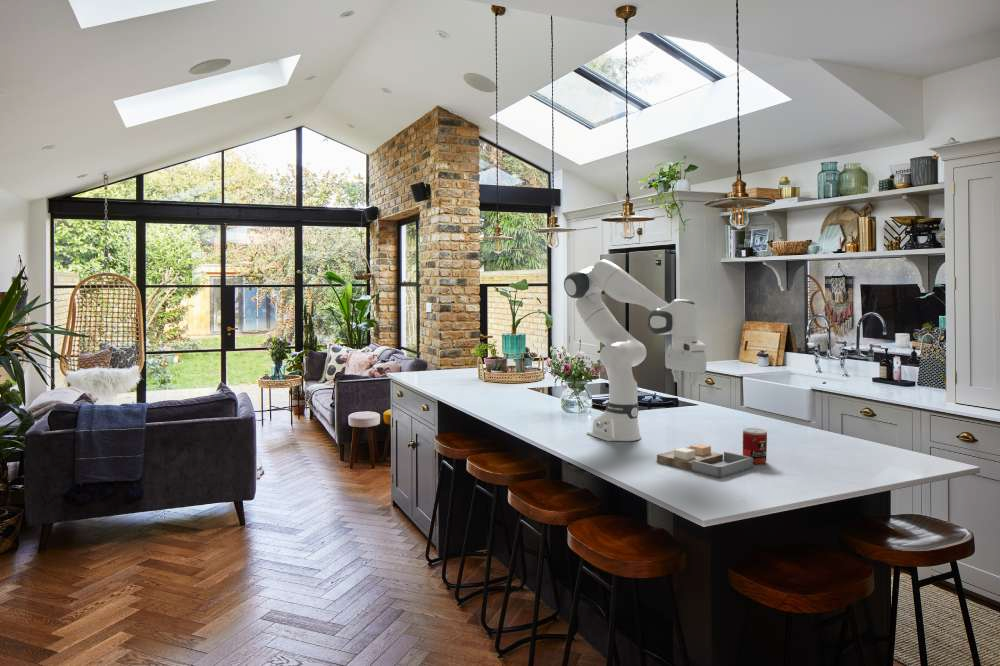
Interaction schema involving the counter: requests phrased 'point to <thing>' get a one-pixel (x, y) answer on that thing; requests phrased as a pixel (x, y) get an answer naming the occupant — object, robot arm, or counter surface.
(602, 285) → the robot arm
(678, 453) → the tile cream
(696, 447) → the tile terracotta
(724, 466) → the tray
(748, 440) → the canned food
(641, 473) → the counter surface
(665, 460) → the board
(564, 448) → the counter surface
